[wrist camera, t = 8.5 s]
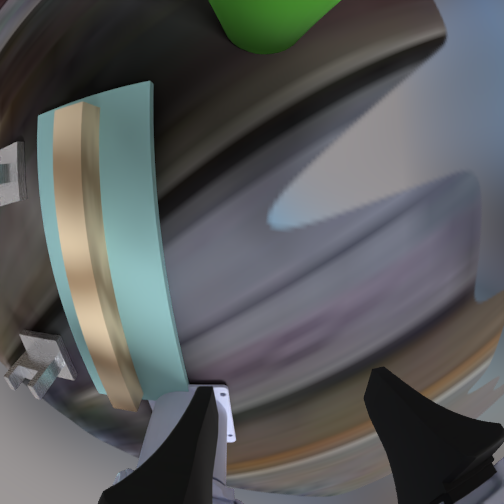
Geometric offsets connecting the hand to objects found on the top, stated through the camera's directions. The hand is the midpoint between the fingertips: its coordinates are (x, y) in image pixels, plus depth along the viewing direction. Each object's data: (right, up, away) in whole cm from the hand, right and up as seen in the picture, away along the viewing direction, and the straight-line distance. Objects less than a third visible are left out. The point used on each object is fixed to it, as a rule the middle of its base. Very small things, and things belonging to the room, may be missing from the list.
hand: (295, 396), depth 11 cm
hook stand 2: (-23, -4, +10) cm, 26 cm away
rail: (-13, +5, +7) cm, 16 cm away
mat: (-13, +5, +8) cm, 16 cm away
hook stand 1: (-24, +13, +5) cm, 28 cm away
